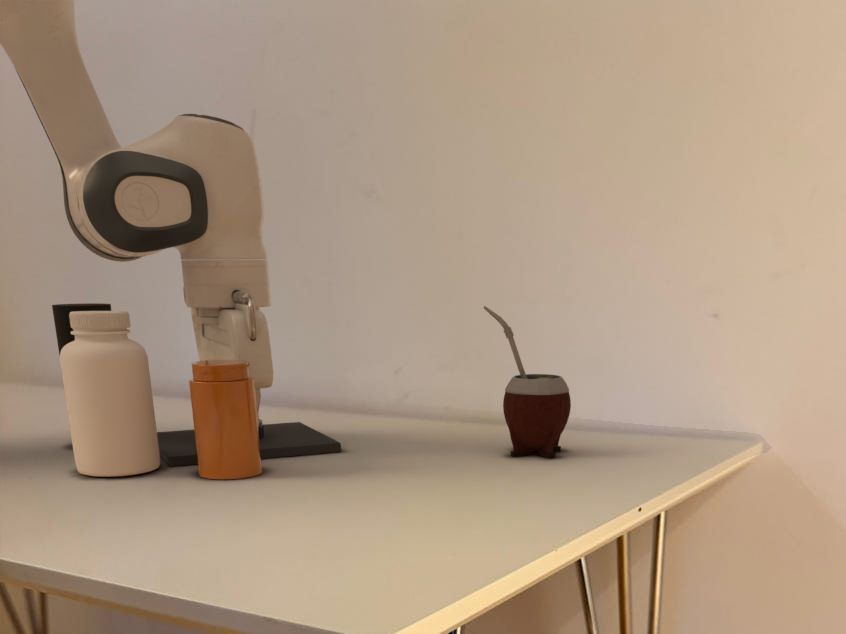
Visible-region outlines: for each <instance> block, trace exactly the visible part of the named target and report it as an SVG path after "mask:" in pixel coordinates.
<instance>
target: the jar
mask: <svg viewBox="0 0 846 634" xmlns="http://www.w3.org/2000/svg"><path fill="white" fill-rule="evenodd" d="M249 366H250V364H249V362H248V361H244V360H206V361H200V360H197V361H193V362H191V372H192V378H189V379H188V385H189V386H188V387H189V395H190V404H191V413H192V422H193V430H194V433H195V442H196V451H197V461H198V464H197V469H198V470H197V471H198V476H199V477H201V478H204V479H208V480H209V479H210V480H239V479H246V478H252V477H255V476H258V475H260V474H261V473H263V466H262V459H261V455H260V443H259V431H258V419H257V407H256V395H255V383H254V378H253V377H250V375H249Z"/></svg>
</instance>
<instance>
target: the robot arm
mask: <svg viewBox="0 0 846 634" xmlns="http://www.w3.org/2000/svg"><path fill="white" fill-rule="evenodd" d="M75 17H76V16H75V0H0V45H1V47H2V48H3V51H4V52H5V54H6V55H7V57H8V59H9V60H10V62H11V63H12V65H13V67H14V70H15V71H16V74H17V76H18V77H19V79H20V82H21V84H22V86H23V88H24V90H25V93H26V94H27V97H28V98H29V101H30V103H31V105H32V107H33V109H34V111H35V113H36V115H37V118H38V119H39V122H40V124H41V126H42V128H43V131H44V133H45V135H46V137H47V139H48V141H49V143H50V145H51V148H52V150H53V151H54V154H55V156H56V159H57V161H58V164H59V168H60V172H61V178H62V187H63V188H62V190H63V204H64V211H65V215H66V219H67V222H68V224H69V227H70V229H71V230H72V232H73V234H74V236H75V237H76V238H77V239H78V241H79V242H80V243H81V244H82V245H83V246H84V247H85V248H86V249H87V250H89V251H90V252H92V253H93V254H95V255H96V256H99V257H100V258H103V259H105V260H109V261H112V262H120V263H122V262H131V261H136V260H138V259H139V260H140V259H141V258H143V257H146V256H147V257H148V256H151V255H155V254H158V253H160V252H162V251H164V250H167V249H170V248H174V249H176V250H177V251H178V252H179V254H180V263H181V273H182V283H183V300H184V303H185V306H186V308H190V312H191V321H192V327H193V333H194V339H195V344H196V349H197V354H198V358H199V361H206V360H244V361H248V362H249V364H250V366H249V375H250V377H253V378H254V383H255V395H256V407H257V419H258V427H259V419H260V417H259V411H260V406H261V405H260V403H261V398H262V396H261V395H262V394H261V389H268V388H271V387H272V386H273V382H274V366H273V356H272V347H271V340H270V332H269V325H268V320H267V317H266V315H265V313H264V312H263V311H262V310H260V309H261V308H268V307H271V306H272V297H271V286H270V273H269V260H268V259H269V258H268V253H267V250H266V248H265V244H264V240H263V225H264V219H265V208H264V206H265V205H264V195H263V188H262V187H263V185H262V180H261V173H260V166H259V160H258V156H257V153H256V149H255V145H254V142H253V140H252V138H251V136H250V135H249V134H248V132H246V130H245V129H244V128H243V127H241V126H239V125H237V124H236V123H234V122H232V121H231V120H230V121H229V120H226V119H223V118H220V117H216V116H212V115H208V114H197V113H183V114H179V115H176V117H174V118H173V120H172V121H170V123H168V124H167V125H165V126H164V127H163V128H161V129H159V130H158V131H156V132H154V133H152V134H150V135H149V136H147V137H145V138H143V139H141V140H139V141H136V142H134V143H131V144H127V145H126V146H121V145H120V143H119V141H118V139H117V138H116V136H115V133H114V130H113V128H112V126H111V124H110V122H109V118H108V117H107V114H106V112H105V110H104V108H103V105H102V103H101V101H100V99H99V98H100V97H99V96H98V94H97V92H96V88H95V86H94V84H93V82H92V80H91V78H90V75H89V72H88V70H87V68H86V65H85V62H84V60H83V57H82V53H81V50H80V46H79V42H78V37H77V31H76V20H75Z"/></svg>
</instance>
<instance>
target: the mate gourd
mask: <svg viewBox="0 0 846 634" xmlns="http://www.w3.org/2000/svg"><path fill="white" fill-rule="evenodd" d="M483 309H484V310H485V312H487V313H488V314H489V315H490V316H491V317H492V318H493V319H495V321H497V323H498V324H499V325H500V326H501V327H502V329H503V333H504V334H505V338H506V339H508V343H509V346H510V349H511V352H512V355H513V357H514V361H515V363H516V366H517V369H518V372H519V374H517V375H514V376H512V377H511V379H510V380H509V381H508V383H507V384H506V387H505V389H504V396H503V402H502V409H503V416H504V420H505V423H506V426H507V428H508V432H509V436H510V441H511V445H512V450H511V451H509V453H510V457H515V458H517V457H524V456H532V455H536V456H540V457H542V458H543V457H544V458H547V459H553V458H555V459H556V454H557V452H561V450H562V446H561V445H559V443H560V439H561V436H562V433H563V432H564V430H565V428H566V425H567V424H568V421H569V418H570V414H571V407H572V404H571V402H572V401H571V394H570V389H569V386H568V384H567V382H566V381H565V379H564V378H563V376H561V375H558V374H557V375H556V374H547V373H527V374H526V371H525V367H524V365H523V362H522V360H521V356H520V353H519V350H518V348H517V344H516V341H515V338H514V336H515V334H514V331H513V330H512V328H511V326H510V325H508V323H507V322H506V321H505V320H504V319H503V317H502V316H500V315H499V314H498V313H496V312H495V311H493V310H492V309H490V308H489V307H487V306H486V305H483Z"/></svg>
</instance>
